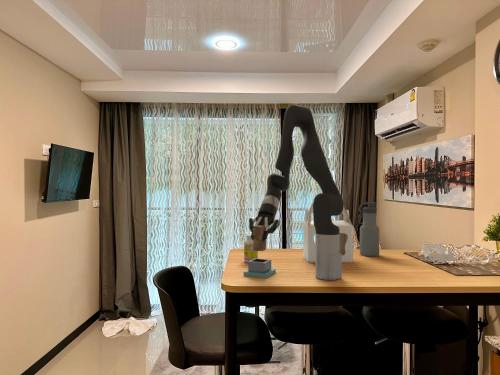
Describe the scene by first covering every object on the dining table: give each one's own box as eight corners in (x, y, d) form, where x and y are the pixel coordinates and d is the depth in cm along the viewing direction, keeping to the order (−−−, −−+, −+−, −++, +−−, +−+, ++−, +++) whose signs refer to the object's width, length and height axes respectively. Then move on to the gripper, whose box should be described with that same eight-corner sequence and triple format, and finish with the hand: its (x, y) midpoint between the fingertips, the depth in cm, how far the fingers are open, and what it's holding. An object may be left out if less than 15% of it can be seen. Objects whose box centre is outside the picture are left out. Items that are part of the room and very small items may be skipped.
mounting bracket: (452, 267, 158) (448, 245, 162) (459, 264, 152) (454, 241, 157) (426, 266, 159) (422, 244, 164) (431, 263, 154) (427, 241, 158)
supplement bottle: (242, 260, 163) (242, 234, 163) (255, 259, 165) (255, 233, 165) (246, 263, 157) (246, 235, 157) (259, 262, 159) (259, 235, 159)
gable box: (307, 262, 159) (307, 203, 159) (302, 257, 172) (302, 202, 172) (353, 262, 159) (353, 203, 160) (345, 256, 172) (345, 202, 173)
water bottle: (355, 254, 178) (355, 202, 178) (364, 252, 185) (364, 201, 185) (373, 257, 171) (373, 202, 171) (382, 255, 177) (382, 202, 178)
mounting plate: (275, 272, 139) (275, 268, 139) (266, 278, 130) (266, 274, 130) (253, 270, 143) (253, 266, 143) (243, 275, 134) (243, 271, 134)
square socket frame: (271, 269, 138) (271, 259, 138) (264, 273, 132) (264, 263, 132) (255, 267, 141) (255, 258, 141) (248, 271, 135) (248, 261, 135)
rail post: (266, 249, 138) (266, 225, 138) (262, 251, 134) (262, 226, 134) (257, 248, 140) (257, 224, 140) (253, 250, 136) (253, 225, 136)
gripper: (251, 202, 147) (239, 232, 136) (282, 202, 141) (271, 235, 130) (256, 213, 151) (244, 244, 140) (286, 214, 146) (276, 246, 134)
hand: (257, 239), depth 135 cm, fingers closed on rail post, 4 cm apart
